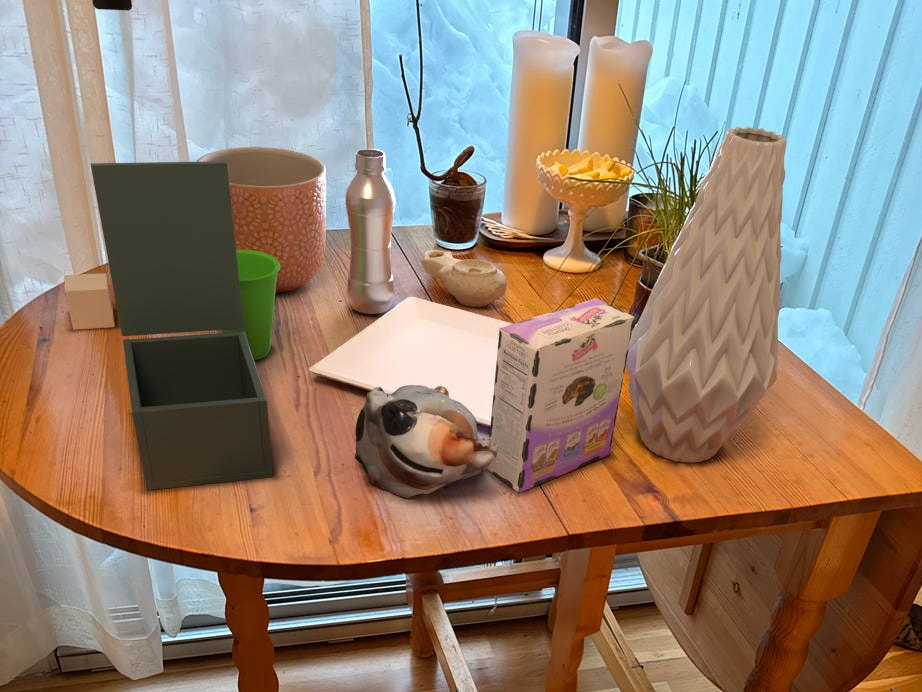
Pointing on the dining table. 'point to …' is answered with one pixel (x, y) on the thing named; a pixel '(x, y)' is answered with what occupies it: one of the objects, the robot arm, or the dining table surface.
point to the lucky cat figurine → (418, 440)
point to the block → (89, 301)
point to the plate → (423, 354)
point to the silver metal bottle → (370, 234)
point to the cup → (257, 299)
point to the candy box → (557, 391)
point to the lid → (170, 245)
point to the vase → (714, 307)
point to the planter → (278, 208)
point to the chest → (198, 410)
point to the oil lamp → (466, 278)
